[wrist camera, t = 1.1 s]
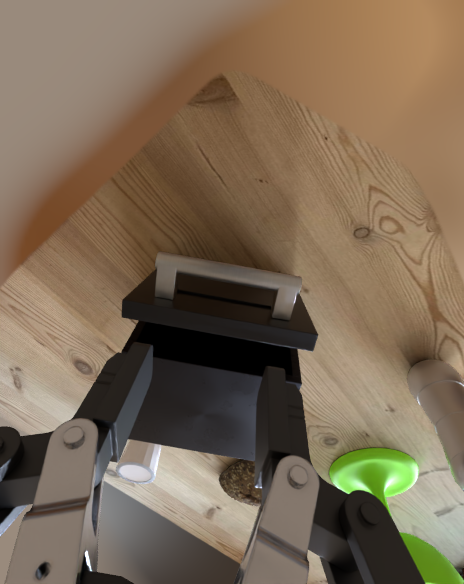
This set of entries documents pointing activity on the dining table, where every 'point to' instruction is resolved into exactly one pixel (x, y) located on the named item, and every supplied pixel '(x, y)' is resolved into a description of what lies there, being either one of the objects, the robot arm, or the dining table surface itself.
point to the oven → (205, 389)
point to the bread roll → (241, 483)
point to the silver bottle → (442, 407)
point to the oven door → (223, 301)
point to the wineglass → (388, 482)
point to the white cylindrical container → (139, 462)
